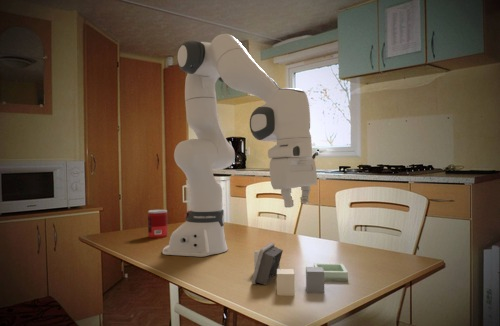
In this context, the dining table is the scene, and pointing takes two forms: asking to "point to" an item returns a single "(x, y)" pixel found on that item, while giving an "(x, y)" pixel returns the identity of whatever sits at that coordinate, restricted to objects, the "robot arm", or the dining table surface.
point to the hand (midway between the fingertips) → (297, 205)
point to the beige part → (285, 282)
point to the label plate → (256, 254)
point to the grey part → (315, 280)
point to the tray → (334, 272)
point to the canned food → (157, 223)
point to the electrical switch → (267, 264)
